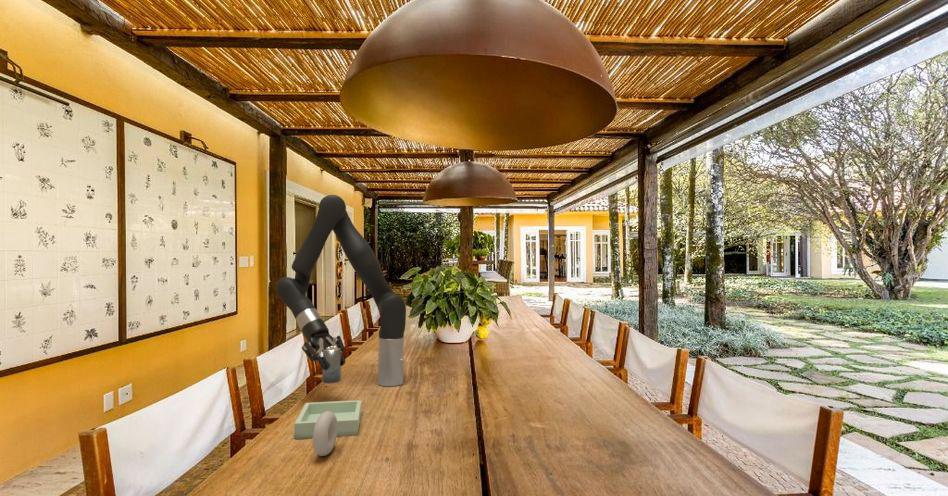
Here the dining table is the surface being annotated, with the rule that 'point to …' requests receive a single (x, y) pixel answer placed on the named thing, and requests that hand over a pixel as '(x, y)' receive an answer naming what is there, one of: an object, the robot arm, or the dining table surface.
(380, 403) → the dining table surface
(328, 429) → the donut
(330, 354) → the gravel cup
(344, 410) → the pale green shallow tray
